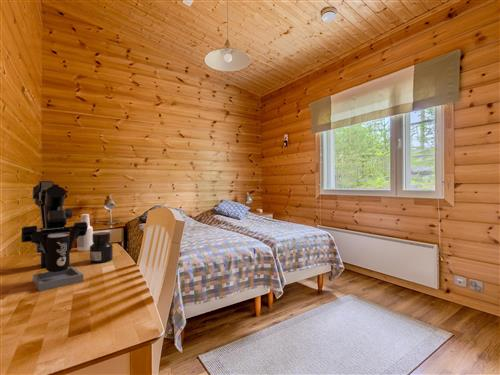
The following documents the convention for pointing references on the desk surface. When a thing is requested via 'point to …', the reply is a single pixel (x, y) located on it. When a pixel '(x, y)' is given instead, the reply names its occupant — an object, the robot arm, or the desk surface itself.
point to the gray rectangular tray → (57, 278)
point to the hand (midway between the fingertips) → (58, 251)
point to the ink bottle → (101, 248)
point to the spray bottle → (85, 240)
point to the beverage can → (57, 252)
